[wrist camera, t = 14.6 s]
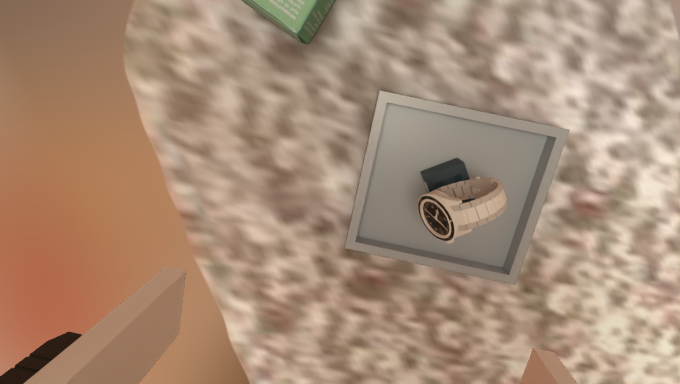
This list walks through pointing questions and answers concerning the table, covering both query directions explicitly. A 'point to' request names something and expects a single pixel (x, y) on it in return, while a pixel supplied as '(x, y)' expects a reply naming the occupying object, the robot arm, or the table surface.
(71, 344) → the robot arm
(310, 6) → the box
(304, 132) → the table surface
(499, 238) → the tray
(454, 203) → the watch
